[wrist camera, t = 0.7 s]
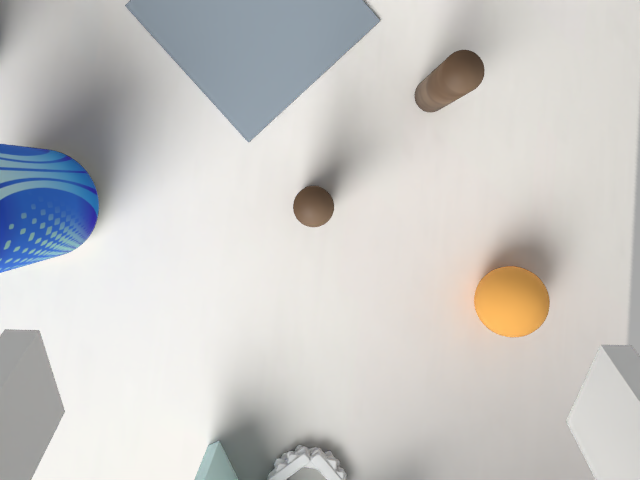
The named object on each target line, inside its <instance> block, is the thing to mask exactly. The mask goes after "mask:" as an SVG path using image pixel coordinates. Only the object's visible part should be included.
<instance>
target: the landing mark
mask: <svg viewBox="0 0 640 480" xmlns="http://www.w3.org/2000/svg"><path fill="white" fill-rule="evenodd" d="M125 6H126V7H127V8H128V10H129V11H130V12H131V13H132V14H133V15H134V16H135V17H136V18H137V20H138V21H139V22H140V23H141V24H142V25H143V26H144V27H145V28H146V30H147V31H148V32H149V33H150V34H151V35H152V36H153V37H154V38H155V39H156V41H157V42H158V43H159V44H160V45H161V46H162V47H163V48H164V49H165V51H166V52H167V53H168V54H169V55H170V56H171V57H172V58H173V59H174V61H175V62H176V63H177V64H178V65H179V66H180V67H181V68H182V69H183V70H184V72H185V73H186V74H187V75H188V76H189V77H190V78H191V79H192V80H193V82H194V83H195V84H196V85H197V86H198V87H199V88H200V89H201V90H202V92H203V93H204V94H205V95H206V96H207V97H208V98H209V99H210V100H211V101H212V103H213V104H214V105H215V106H216V107H217V108H218V109H219V110H220V111H221V113H222V114H223V115H224V116H225V117H226V118H227V119H228V120H229V121H230V123H231V124H232V125H233V126H234V127H235V128H236V129H237V130H238V131H239V133H240V134H241V135H242V136H243V137H244V138H245V139H246V140H247V141H248V142H250V141H251V140H252V139H253V138H254V137H255V136H256V135H257V134H258V133H259V132H261V131H262V130H263V129H264V128H265V127H266V126H267V125H268V124H269V123H270V122H271V121H272V120H274V119H275V118H276V117H277V116H278V115H279V114H280V113H281V112H282V111H283V110H284V109H285V108H287V107H288V106H289V105H290V104H291V103H292V102H293V101H294V100H295V99H296V98H297V97H298V96H300V95H301V94H302V93H303V92H304V91H305V90H306V89H307V88H308V87H309V86H310V85H311V84H313V83H314V82H315V81H316V80H317V79H318V78H319V77H320V76H321V75H322V74H323V73H324V72H326V71H327V70H328V69H329V68H330V67H331V66H332V65H333V64H334V63H335V62H336V61H337V60H338V59H340V58H341V57H342V56H343V55H344V54H345V53H346V52H347V51H348V50H349V49H350V48H351V47H353V46H354V45H355V44H356V43H357V42H358V41H359V40H360V39H361V38H362V37H363V36H364V35H366V34H367V33H368V32H369V31H370V30H371V29H372V28H373V27H374V26H375V25H376V24H377V23H379V22H380V20H379V19H378V18H377V16H376V15H375V14H374V13H373V12H372V10H371V9H370V8H369V7H368V6H367V5H366V3H365V2H364V1H363V0H130V1H129V2H128V3H127V4H126V5H125Z"/></svg>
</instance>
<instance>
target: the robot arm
mask: <svg viewBox="0 0 640 480" xmlns="http://www.w3.org/2000/svg"><path fill="white" fill-rule="evenodd" d="M64 412H65V410H64V407H63V404H62V401H61V398H60V394H59V391H58V388H57V385H56V382H55V378H54V375H53V372H52V369H51V366H50V363H49V359H48V356H47V353H46V350H45V347H44V344H43V340H42V337H41V334H40V331H39V330H4V332H3V333H2V334H1V336H0V480H31V479H32V477H33V475H34V473H35V471H36V469H37V467H38V465H39V463H40V461H41V459H42V457H43V455H44V453H45V451H46V449H47V447H48V445H49V443H50V441H51V439H52V437H53V435H54V432H55V430H56V428H57V426H58V424H59V422H60V420H61V418H62V416H63V414H64ZM566 422H567V424H568V426H569V428H570V430H571V432H572V434H573V436H574V438H575V440H576V442H577V444H578V446H579V448H580V450H581V452H582V454H583V456H584V458H585V460H586V462H587V464H588V466H589V468H590V470H591V472H592V474H593V476H594V478H595V480H640V356H639V354H638V353H637V352H636V350H635V349H634V348H633V347H632V346H627V345H600V347H599V350H598V352H597V354H596V356H595V358H594V361H593V363H592V365H591V367H590V370H589V372H588V374H587V376H586V378H585V381H584V383H583V385H582V387H581V389H580V392H579V394H578V396H577V398H576V400H575V403H574V405H573V407H572V409H571V411H570V414H569V416H568V418H567V420H566Z"/></svg>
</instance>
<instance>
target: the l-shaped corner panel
mask: <svg viewBox="0 0 640 480" xmlns="http://www.w3.org/2000/svg"><path fill="white" fill-rule="evenodd" d="M339 466H340V460H339V459H336V458H335V457H334V456H333V454H332V452H331V451H327V452H325V453H324V452H323V451H322V450H321V448H317V447H314V448H308V447H305V446H302V445H297V447H296V450H295V451H289V452H286V453H283V454H282V457H281V458H277V459H276V462H275V463H274V467H275V469H274V470H272V471H271V472H270V473H269V474H268V478H269V479H268V480H287V479H288V478H289V477H290V476H292V475H293V474H294V473H296V472H297V471H298V470H300V469H301V468H303V467H305V468H313V469H318V470H319V471H320V473H321V474H322V475H323V476H324V477H325V478H326V480H347V479H346V477H347V473H345V470H344V468H341V467H339ZM195 480H239V479H238V477H237V475H236V473H235V471H234V469H233V467H232V465H231V463H230V461H229V459H228V457H227V455H226V453H225V451H224V449H223V447H222V445H221V443H220V441H217V442H215V443H213V444H210V445H208V447H207V450H206V452H205V455H204V457H203V460H202V462H201V465H200V467H199V470H198V472H197V475H196V477H195Z"/></svg>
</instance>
